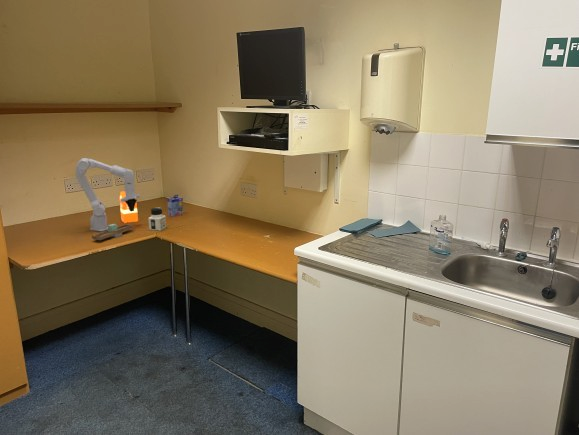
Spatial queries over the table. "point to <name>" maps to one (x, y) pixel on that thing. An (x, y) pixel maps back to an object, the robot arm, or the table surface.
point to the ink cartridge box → (175, 206)
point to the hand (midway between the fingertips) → (131, 211)
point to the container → (157, 220)
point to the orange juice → (127, 211)
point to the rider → (112, 227)
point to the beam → (113, 234)
